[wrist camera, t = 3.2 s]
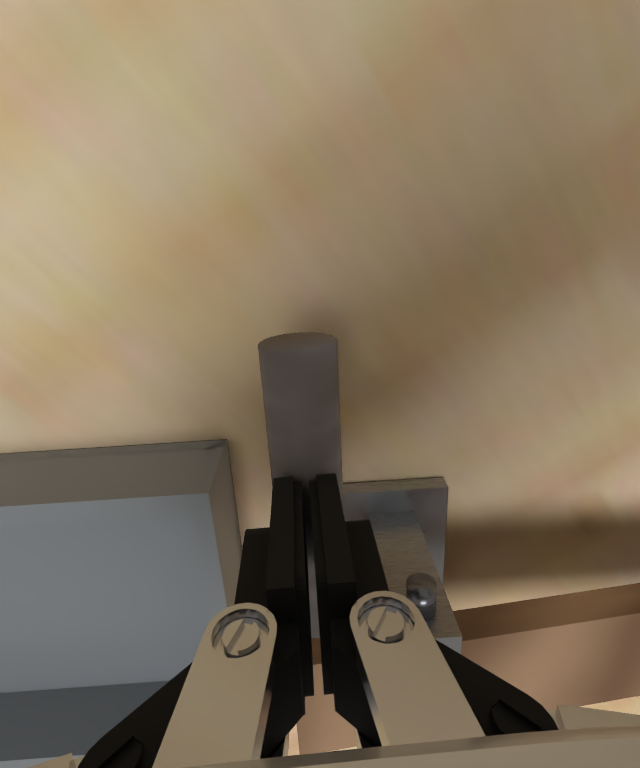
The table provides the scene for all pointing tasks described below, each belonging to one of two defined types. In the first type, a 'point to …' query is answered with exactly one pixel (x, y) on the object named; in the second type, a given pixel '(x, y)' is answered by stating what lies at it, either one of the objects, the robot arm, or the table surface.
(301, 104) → the table surface
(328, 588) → the robot arm
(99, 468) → the bin
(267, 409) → the lever
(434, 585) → the fulcrum
